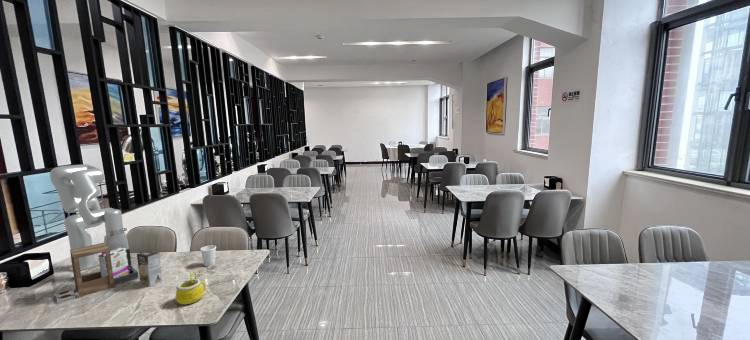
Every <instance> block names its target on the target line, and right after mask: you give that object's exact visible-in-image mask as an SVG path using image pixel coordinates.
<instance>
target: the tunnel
mask: <svg viewBox="0 0 750 340" xmlns="http://www.w3.org/2000/svg"><path fill="white" fill-rule="evenodd" d="M104 253H105V254H106V262H107V269H108V276H107V277H103V278H100V277H102V276H101V271H97V272H94V273H93V272H92V273H90V274H86V275H82V273H81V272H82V270H80V264H79V258H81V257H85V256H90V255H94V256H95V255H97V254H101V255H102V254H104ZM69 255H70V259H71V266H72V268H73V271H72V274H73V280H74V287H75V291H77V292H78V298H83V297H85V296H89V295H91V294H95V293H99V292H101V291H105V290H108V289H113V288H115V285H114V278H113V271H112V263H111V256H110V248H109V247H108V246H107V245H106V244H105V243H104V242H101V243H96V244H92V245H91V246H86V247H81V248H77V249H72V250H71V249H69ZM96 278H99V279H96Z"/></svg>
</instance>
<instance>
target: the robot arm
mask: <svg viewBox="0 0 750 340" xmlns="http://www.w3.org/2000/svg"><path fill="white" fill-rule="evenodd" d="M49 179H50V181H51V183H52V185H53V186H54V188H55V190H56V191H57V194H58V196H59V200H60V203H61V206H62V209H63V211H64V212H65V213H67V214H71V213H72V215H69V216H67V217H66V218H65V219H64V221H63V224H64V227H65V231H66V233H67V236H68V242H69V248H70V249H69V250H72V249H77V248H81V247H86V246H91V245H93V242H92V236H91V234H90V233H89V232H88V231H86V230H88V229H92V228H96V227H99V226H101V225H102V224H104V227H105V235H104V237H103V239H104V240H103V243H105V244H106V245H107V246H108V247H109V248H110V251H112V250H115V249H117V248H126V250H128V249H130V248H129V243H128V242H129V241H128V237H127V234H126V231H127V230H128V229H127V227H124V225H123V215H122V214H123V213H122V210H121V209H117V208H112V207H106V208H101V205H100V202H99V200H98V196H100V194H101V189H100V187H99V186H98V185H97V184H98V183H99V184H100V183H102V182H103V181H104V180H105V173H104V172H103V171H102V169H100V168H98V167H96V166H92V165H90V164H85V163H84V164H74V165H73V164H70V165H62V166H61V165H60V166H56V167H54V168H52V169H51V170H50V173H49ZM77 212H78V213H77ZM73 213H76V214H73ZM79 264H80V271H84V270H88V269H91V268H94V267H96V266H98V264H99V260H98V261H97V260H95V254H94V255H90V256H85V257H81V258H79ZM69 271H71V272H73V268H72V265H71V266H70V267H69Z"/></svg>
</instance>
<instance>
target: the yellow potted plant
mask: <svg viewBox="0 0 750 340" xmlns="http://www.w3.org/2000/svg"><path fill="white" fill-rule="evenodd" d="M200 273H201V269H200V270H198V274H197V273H196V271H194V270H193V271H192V272H191V273H190V278H189V279H185V280H184V281H181V282H180V283H179V284H177V285H176V290H175V301H176V303H178V304H180V305H189V304H193V303H196V302H198V301H199V300H201V299H202V298H203V296H204V293H205V291H206V289H207V287H206V283H205V282H204V281H201V280H200V279H199V275H200ZM202 284H203V286H202Z"/></svg>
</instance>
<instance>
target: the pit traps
mask: <svg viewBox="0 0 750 340" xmlns="http://www.w3.org/2000/svg"><path fill="white" fill-rule="evenodd" d="M54 297H55V299H56V302H57V305H58V304H62V303H66V302H69V301H72V300H75V299H76V295H75V292H74V290H73V288H69V289H66V290H63V291H59V292H55V293H54Z"/></svg>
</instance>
